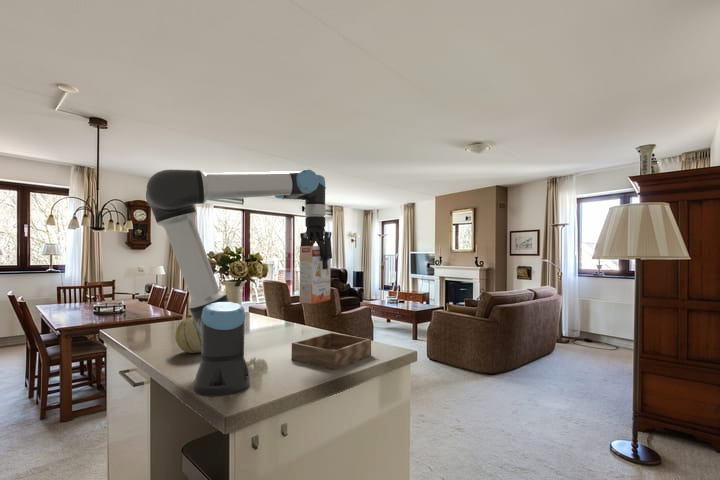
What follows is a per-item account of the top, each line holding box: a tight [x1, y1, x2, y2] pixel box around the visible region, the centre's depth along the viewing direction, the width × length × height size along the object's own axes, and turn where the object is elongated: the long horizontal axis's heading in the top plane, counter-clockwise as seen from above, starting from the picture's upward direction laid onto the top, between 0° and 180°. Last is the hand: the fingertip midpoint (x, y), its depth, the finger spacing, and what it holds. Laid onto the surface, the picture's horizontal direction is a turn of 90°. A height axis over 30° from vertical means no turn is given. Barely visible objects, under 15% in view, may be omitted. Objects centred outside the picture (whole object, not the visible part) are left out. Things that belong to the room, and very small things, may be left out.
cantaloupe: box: [174, 314, 202, 354], centre depth 139 cm, size 15×15×15 cm
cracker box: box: [298, 245, 332, 305], centre depth 134 cm, size 14×6×21 cm, turn 157°
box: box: [291, 332, 372, 371], centre depth 133 cm, size 22×20×6 cm
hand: (315, 277), depth 134 cm, fingers closed on cracker box, 6 cm apart
